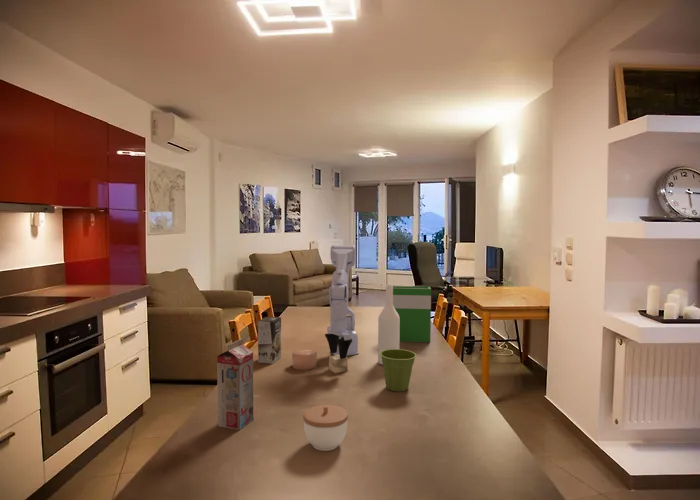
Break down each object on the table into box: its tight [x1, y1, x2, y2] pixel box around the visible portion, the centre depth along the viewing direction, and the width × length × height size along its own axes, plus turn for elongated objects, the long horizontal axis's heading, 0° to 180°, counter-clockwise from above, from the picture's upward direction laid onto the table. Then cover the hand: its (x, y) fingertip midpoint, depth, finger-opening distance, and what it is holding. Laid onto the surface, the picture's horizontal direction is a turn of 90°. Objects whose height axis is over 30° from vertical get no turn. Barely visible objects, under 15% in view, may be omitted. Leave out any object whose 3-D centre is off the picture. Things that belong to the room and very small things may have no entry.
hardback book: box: [393, 285, 432, 343], centre depth 212 cm, size 18×7×24 cm, turn 85°
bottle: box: [377, 283, 400, 366], centre depth 177 cm, size 8×8×30 cm
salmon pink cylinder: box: [291, 349, 318, 371], centre depth 173 cm, size 9×9×5 cm
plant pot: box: [380, 348, 418, 392], centre depth 150 cm, size 12×12×11 cm
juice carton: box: [216, 338, 255, 431], centre depth 123 cm, size 7×7×22 cm
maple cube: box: [328, 354, 349, 374], centre depth 168 cm, size 5×5×5 cm
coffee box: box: [257, 316, 282, 365], centre depth 180 cm, size 9×6×16 cm
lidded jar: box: [302, 404, 349, 452], centre depth 112 cm, size 11×11×9 cm
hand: (338, 355), depth 168 cm, fingers open, 7 cm apart
